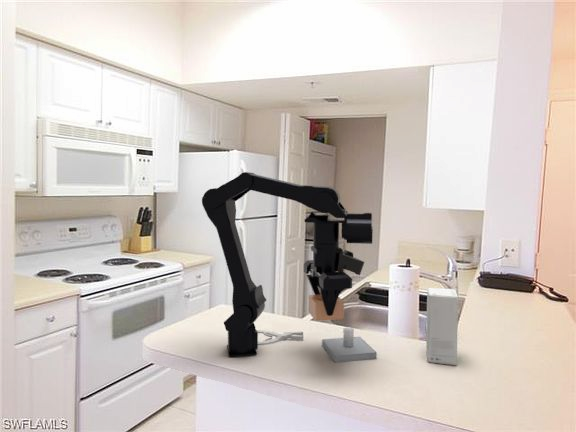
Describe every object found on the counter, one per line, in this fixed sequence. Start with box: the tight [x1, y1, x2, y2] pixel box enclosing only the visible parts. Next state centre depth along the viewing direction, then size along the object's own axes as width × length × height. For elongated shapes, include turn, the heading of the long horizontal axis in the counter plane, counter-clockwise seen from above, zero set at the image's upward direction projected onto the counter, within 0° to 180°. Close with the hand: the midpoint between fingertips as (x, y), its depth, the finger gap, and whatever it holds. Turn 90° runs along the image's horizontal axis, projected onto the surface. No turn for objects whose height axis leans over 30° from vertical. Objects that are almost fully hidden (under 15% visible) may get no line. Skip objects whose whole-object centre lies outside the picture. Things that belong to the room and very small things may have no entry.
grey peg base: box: [321, 327, 378, 363], centre depth 100 cm, size 10×10×6 cm
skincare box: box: [426, 287, 459, 366], centre depth 97 cm, size 8×7×16 cm
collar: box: [308, 294, 345, 322], centre depth 95 cm, size 6×6×4 cm
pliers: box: [256, 329, 304, 346], centre depth 109 cm, size 10×2×15 cm
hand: (325, 310), depth 95 cm, fingers closed on collar, 6 cm apart
